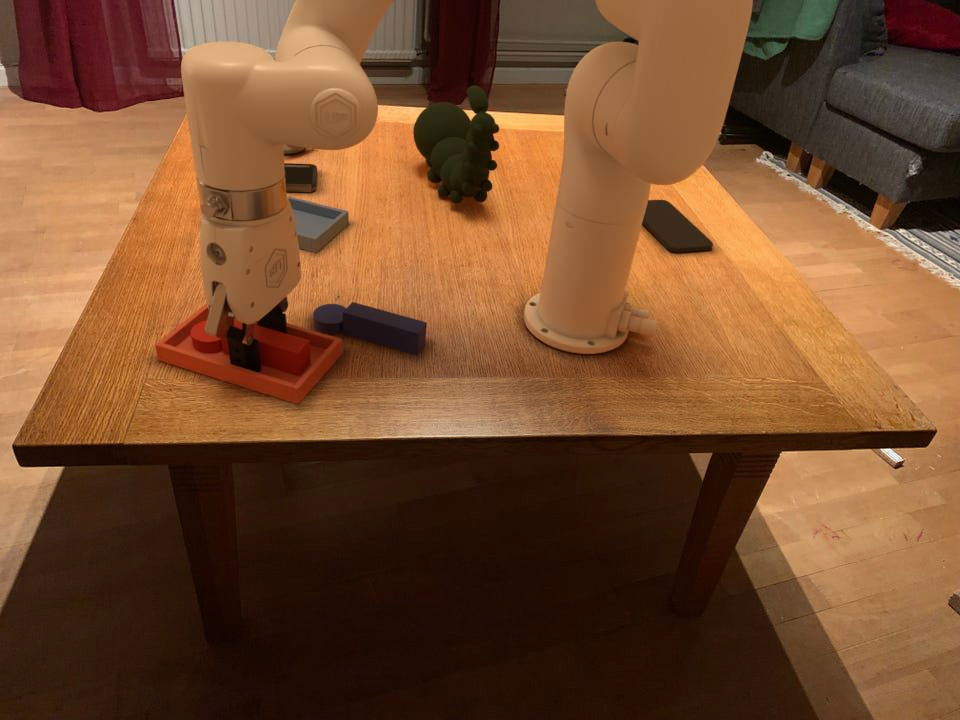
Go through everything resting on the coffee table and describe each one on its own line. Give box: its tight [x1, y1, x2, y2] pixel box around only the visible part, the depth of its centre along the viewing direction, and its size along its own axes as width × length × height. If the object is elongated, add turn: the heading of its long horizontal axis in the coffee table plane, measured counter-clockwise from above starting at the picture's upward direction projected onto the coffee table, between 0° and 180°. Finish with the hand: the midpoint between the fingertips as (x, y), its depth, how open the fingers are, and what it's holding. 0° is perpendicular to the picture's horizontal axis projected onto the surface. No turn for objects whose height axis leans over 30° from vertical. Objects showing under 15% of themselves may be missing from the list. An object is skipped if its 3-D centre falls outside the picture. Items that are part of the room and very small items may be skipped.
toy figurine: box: [412, 85, 500, 205], centre depth 111 cm, size 9×19×25 cm
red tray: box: [154, 303, 343, 405], centre depth 77 cm, size 16×9×2 cm, turn 71°
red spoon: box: [191, 319, 311, 376], centre depth 76 cm, size 13×4×3 cm, turn 71°
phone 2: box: [642, 199, 714, 253], centre depth 111 cm, size 7×1×15 cm
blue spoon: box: [312, 301, 428, 356], centre depth 82 cm, size 13×4×3 cm, turn 71°
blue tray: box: [287, 195, 350, 254], centre depth 100 cm, size 16×9×2 cm, turn 71°
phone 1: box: [284, 162, 318, 193], centre depth 111 cm, size 8×1×15 cm
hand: (259, 353), depth 77 cm, fingers open, 4 cm apart
